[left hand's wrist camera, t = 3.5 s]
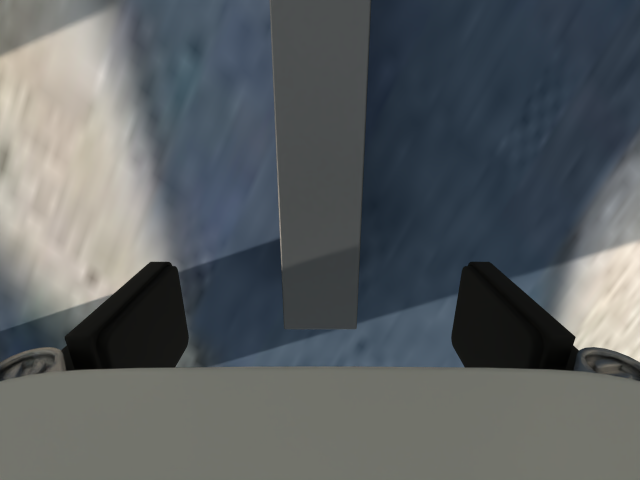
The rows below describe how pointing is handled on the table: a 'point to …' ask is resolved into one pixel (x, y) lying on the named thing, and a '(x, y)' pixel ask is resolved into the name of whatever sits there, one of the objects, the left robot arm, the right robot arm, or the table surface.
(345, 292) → the beam
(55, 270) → the table surface
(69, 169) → the table surface
